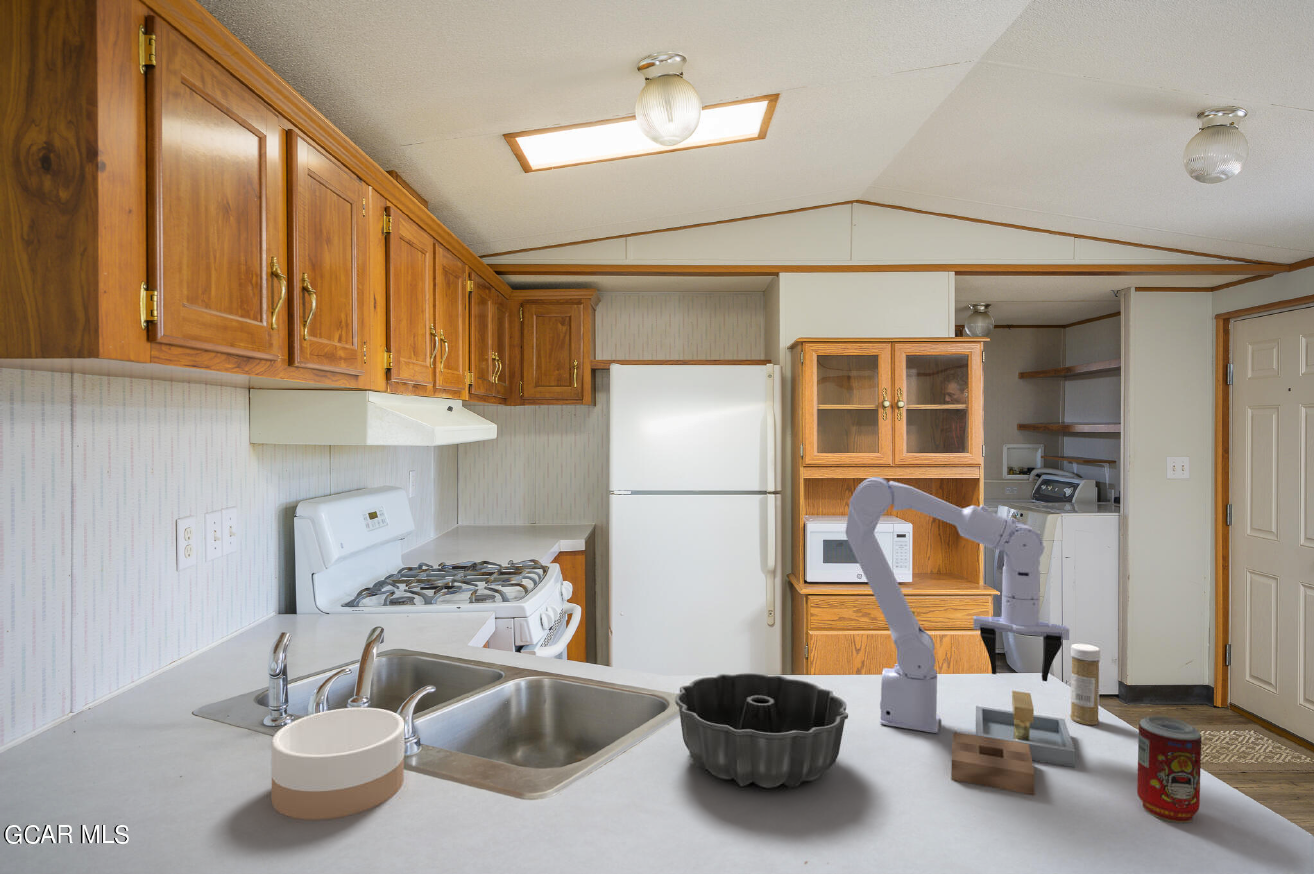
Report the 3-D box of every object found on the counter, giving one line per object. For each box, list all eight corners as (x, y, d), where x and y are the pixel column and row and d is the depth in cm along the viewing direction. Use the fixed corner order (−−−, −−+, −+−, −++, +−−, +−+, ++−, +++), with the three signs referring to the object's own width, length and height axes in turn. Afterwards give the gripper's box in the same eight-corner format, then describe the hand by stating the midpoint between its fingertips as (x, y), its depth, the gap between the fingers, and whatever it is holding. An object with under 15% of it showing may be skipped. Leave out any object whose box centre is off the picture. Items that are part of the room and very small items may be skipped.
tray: (976, 750, 120) (976, 735, 120) (975, 719, 132) (975, 705, 132) (1074, 767, 114) (1075, 751, 114) (1064, 733, 127) (1064, 719, 127)
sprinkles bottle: (1103, 722, 132) (1105, 647, 132) (1090, 727, 130) (1092, 651, 129) (1077, 714, 136) (1079, 641, 136) (1064, 719, 133) (1066, 645, 133)
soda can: (1159, 825, 97) (1161, 733, 97) (1125, 798, 104) (1127, 712, 104) (1212, 826, 97) (1215, 734, 97) (1175, 799, 104) (1177, 713, 104)
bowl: (428, 772, 110) (429, 716, 109) (344, 831, 93) (345, 765, 93) (335, 754, 115) (336, 700, 115) (241, 806, 99) (241, 744, 99)
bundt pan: (746, 716, 133) (747, 660, 133) (879, 765, 114) (881, 701, 114) (639, 760, 114) (640, 696, 114) (777, 828, 96) (779, 751, 95)
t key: (1011, 728, 127) (1012, 690, 127) (1029, 731, 126) (1030, 693, 126) (1013, 746, 120) (1014, 706, 120) (1032, 749, 119) (1033, 709, 119)
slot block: (951, 779, 109) (951, 759, 109) (952, 750, 120) (953, 731, 120) (1034, 795, 105) (1034, 774, 105) (1028, 763, 115) (1028, 744, 115)
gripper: (973, 596, 124) (972, 676, 124) (1072, 606, 118) (1070, 690, 119) (974, 588, 131) (972, 664, 131) (1067, 597, 125) (1065, 677, 125)
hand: (1018, 676), depth 125 cm, fingers open, 7 cm apart
